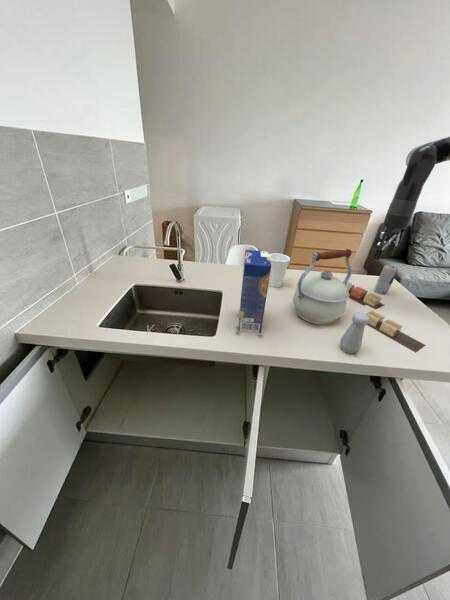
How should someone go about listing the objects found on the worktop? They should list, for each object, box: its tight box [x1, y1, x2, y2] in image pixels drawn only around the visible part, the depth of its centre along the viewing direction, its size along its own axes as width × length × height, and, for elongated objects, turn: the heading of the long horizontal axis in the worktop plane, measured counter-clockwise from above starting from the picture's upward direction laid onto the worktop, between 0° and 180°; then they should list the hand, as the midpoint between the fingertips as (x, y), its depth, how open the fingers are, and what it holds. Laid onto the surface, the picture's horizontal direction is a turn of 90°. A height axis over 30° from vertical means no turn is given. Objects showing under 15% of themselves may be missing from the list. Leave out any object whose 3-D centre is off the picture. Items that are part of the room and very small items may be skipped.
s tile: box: [350, 286, 368, 300], centre depth 103 cm, size 4×4×3 cm
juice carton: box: [237, 249, 271, 334], centre depth 79 cm, size 12×8×24 cm, turn 175°
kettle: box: [292, 248, 354, 325], centre depth 86 cm, size 25×18×25 cm
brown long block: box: [345, 281, 386, 311], centre depth 103 cm, size 7×20×4 cm, turn 32°
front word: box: [365, 310, 427, 353], centre depth 83 cm, size 7×20×4 cm, turn 32°
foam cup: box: [268, 252, 291, 288], centre depth 108 cm, size 10×9×13 cm
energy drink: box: [374, 264, 399, 295], centre depth 107 cm, size 5×5×12 cm
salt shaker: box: [339, 311, 369, 355], centre depth 72 cm, size 6×6×13 cm
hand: (382, 257), depth 92 cm, fingers open, 8 cm apart
